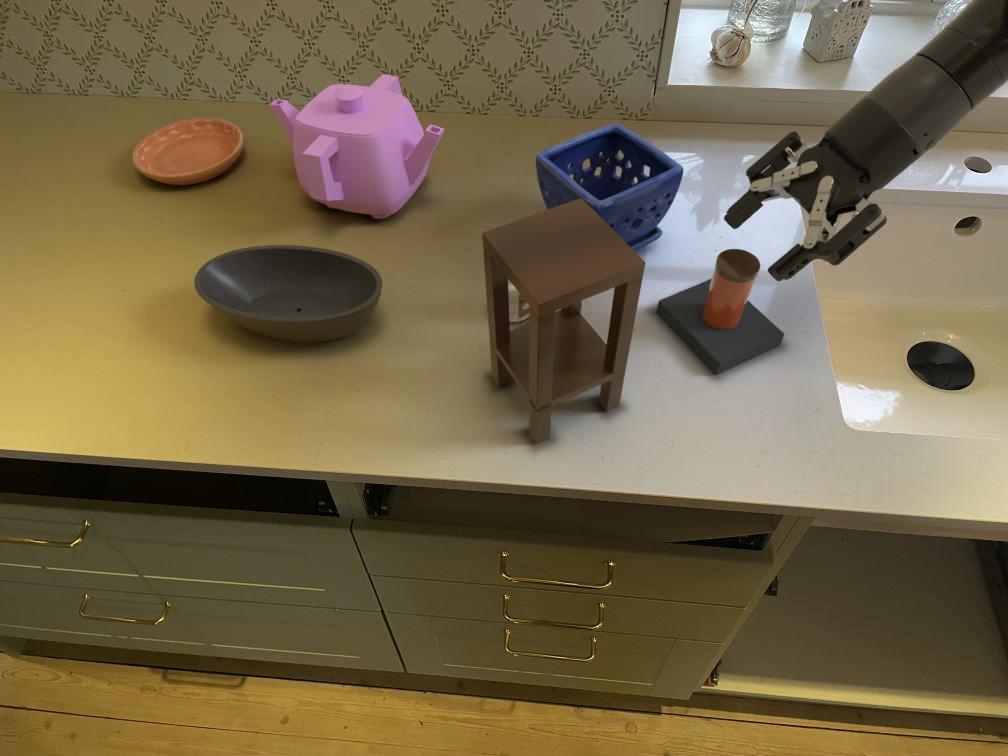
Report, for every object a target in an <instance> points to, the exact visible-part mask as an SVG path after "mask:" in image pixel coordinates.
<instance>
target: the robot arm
mask: <svg viewBox="0 0 1008 756" xmlns="http://www.w3.org/2000/svg"><path fill="white" fill-rule="evenodd" d="M1007 82H1008V0H970V2H969V3H968V4H966V6H965V7H964V8H963V9H962V10H961V11H960V12H959V14H957V16H955V17H954V18H953V19H952V20H951V21H950V22H949V23H948V24H947V25H945V27H944V28H943V29H941V31H939V32H937V34H936V35H934V37H932V39H930V40H929V41H928V42H927V43H926V44H925V45H924V46H922V47H921V48H920V49H919V50H918V51H917V52H916V53H915V54H914V55H913V56H911V57H909V59H908V60H906V61H905V62H903V64H901V65H900V66H898V67H896V68H895V69H894V70H893V71H891V72H890V73H888V74H887V76H885V77H884V78H883V79H882V80H881V81H879V83H878V84H876V85H875V86H874V87H873V88H872V89H871V90H869V92H867V93H866V94H865V95H864V96H863V97H862V98H861V99H860V100H859V101H857V103H855V104H854V105H853V106H852V107H851V108H850V109H848V110H847V112H845V114H843V115H842V116H841V117H840V118H839V119H838V120H837V121H836V122H835V123H833V124H832V125H831V126H829V128H828V129H827V130H826V131H825V132H824V135H823V137H822V139H821V140H820V141H819V142H818V143H816V144H815V145H813V146H811V147H808V145H807V143H806V142H805V141H804V139H803V138H802V137H801V135H800V134H799V133H798V132H797V131H791V132H789V133H788V134H787V135H786V136H784V137H783V138H782V139H781V140H779V141H778V142H777V143H776V144H775V145H773V147H772V148H771V149H769V150H768V151H767V152H765V153H764V154H763V155H762V156H760V158H758V159H757V160H756V161H755V162H754V163H753V164H752V165H750V166H749V167H748V168H747V169H746V171H745V175H746V177H747V178H748V181H749V188H748V190H747V191H746V192H745V193H744V194H742V196H741V197H739V198H738V199H737V201H735V202H734V203H733V204H732V205H731V206H730V207H729V208H728V209H727V210H726V214H725V215H724V217H723V221H725V222H726V223H727V225H728V226H729V227H730V228H732V229H733V230H737V229H738V228H740V227H741V226H742V225H743V224H745V223H746V222H747V221H748V220H749V219H750V218H751V217H752V216H753V215H755V214H756V213H757V212H758V211H759V210H760V209H761V208H762V207H763V206H764V204H763V203H765V202H769V201H773V200H778V199H784V200H788V199H793V200H794V201H795V202H796V203H797V204H798V205H799V206H800V207H802V208H803V209H804V210H805V212H806V213H807V214H808V215H809V217H808V221H807V223H808V228H807V230H806V233H805V236H804V239H803V242H802V244H800V243H799V242H798V243H796V244H795V245H794V246H793V247H791V248H790V249H789V250H788V251H786V253H784V254H783V255H782V256H781V257H779V258H778V259H777V260H776V261H775V262H773V263H772V264H770V266H769V267H768V268H767V272H768V274H769V275H770V276H771V277H772V278H773V279H775V280H776V282H781V281H787V280H789V279H792V278H793V277H794V276H796V274H798V273H799V272H800V271H802V270H803V269H804V268H806V266H808V265H809V264H810V263H812V262H813V261H815V260H822V261H824V262H826V263H829V264H830V265H831V266H832V267H833V266H834V267H836V266H839V265H841V263H843V262H844V261H845V260H846V259H847V258H848V257H850V256H851V255H852V254H853V253H854V252H855V251H857V249H859V248H860V247H861V246H862V245H863V244H864V243H865V242H867V241H868V240H869V239H870V238H871V237H872V236H873V235H875V234H876V233H877V232H878V231H880V229H882V228H883V227H884V226H885V225H886V224H887V222H888V218H887V215H886V214H885V212H884V211H883V209H882V208H881V207H880V206H879V205H878V204H877V203H873V202H872V203H871V202H870V201H869V198H870V196H871V195H872V194H873V193H874V192H876V191H879V190H881V189H882V190H883V188H885V187H886V186H887V185H888V184H890V183H891V182H892V181H893V180H894V179H896V178H897V177H898V176H899V175H900V174H902V173H903V172H904V171H906V169H908V168H909V167H910V166H911V165H912V164H914V163H915V162H916V161H917V160H919V159H920V158H921V157H922V156H923V155H924V154H926V153H927V152H928V151H929V150H931V149H932V148H934V147H935V146H936V145H937V144H938V143H939V142H941V141H942V140H943V139H944V138H945V137H946V136H947V135H949V134H950V133H951V132H952V131H953V130H954V129H955V128H956V127H957V126H958V125H959V123H960V122H962V121H963V119H964V118H966V117H967V116H968V115H969V114H970V113H971V112H972V111H973V110H975V109H976V108H977V107H978V106H980V104H982V103H983V102H984V101H986V100H987V99H988V98H989V97H990V96H991V95H993V94H994V93H995V92H996V91H998V90H999V89H1000V88H1001V87H1003V86H1004V85H1005V84H1006V83H1007ZM792 163H796V165H795V167H790V168H787V167H789V166H790V165H791V164H792ZM762 202H763V203H762ZM849 213H852V215H851V220H849V221H848V222H847V223H846V224H845V225H844V226H842V227H841V229H839V230H838V231H837V228H838V226H839V223H840V220H841V216H842V215H845V214H849ZM836 231H837V232H836Z"/></svg>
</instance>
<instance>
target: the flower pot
mask: <svg viewBox="0 0 1008 756" xmlns="http://www.w3.org/2000/svg"><path fill="white" fill-rule="evenodd" d="M619 152H621V153H622V155H623V157H622V158H621V157H620V156H619ZM600 154H601V155H600ZM587 160H588V161H589V166H588V167H586V168H584V162H585V161H587ZM629 163H630V164H629ZM618 167H619V168H620V169H621V174H620V176H619V175H617V168H618ZM645 167H648V168H649V172H648V173H649V174H648V175H646V173H645ZM535 168H536V176H537V182H538V186H539V190H540V194H541V197H542V200H543V202H544V204H545V207H546V210H548V209H551V208H554V207H557V206H560V205H563V204H566V203H568V202H571V201H574V200H577V199H580V198H582V199H583V200H584V201H585V202H586V203H587V204H588V205H589V206H590V207H591V208H592V209H593V210H594V211H595V212H596V213H597V214H598V215H599V216H600V217H601V218H602V219H603V220H604V221H605V222H606V223H607V224H608V225H609V226H610V227H611V228H612V229H613V230H614V231H615V232H616V233H617V234H618V235H619V236H620V237H621V238H622V239H623V240H624V241H625V242H626V243H627V244H628V245H629V246H630V247H631V248H632V249H633V250H634V251H635V252H636V251H637V250H640V249H642V248H644V247H646V246H648V245H650V244H652V243H654V242H655V241H657V240H658V239H660V237H662V235H663V230H662V229H661V228H660V227H658V225H659V224H660V223H661V222H662V221H663V219H664V218H665V217H666V215H667V213H668V212H669V210H670V208H671V206H672V205H673V203H674V201H675V200H676V196H677V194H678V192H679V189H680V186H681V183H682V181H683V176H684V167H683V166H682V164H680V163H679V162H677V160H675V159H673V158H672V157H670V156H669V155H668V154H666V153H665V152H664V151H663V150H661V149H659V148H658V147H657V146H655V145H653V144H652V143H651V142H649V141H648V140H646V139H644V138H643V137H641V136H639V135H638V134H637V133H635V132H633V131H632V130H630V129H629V128H627V127H625V126H623V125H621V124H619V123H615V122H614V123H610V124H608V125H604V126H602V127H598V128H597V129H593V130H591V131H588V132H586V133H582V134H580V135H578V136H576V137H573V138H571V139H569V140H566V141H564V142H561V143H558V144H556V145H554V146H551V147H548V148H546V149H544V150H542V151H540V152H539V153H537V154H536V156H535ZM598 168H600V173H599V174H595V173H596V171H597V169H598ZM571 175H572V177H570V176H571ZM635 178H636V180H637V181H635Z"/></svg>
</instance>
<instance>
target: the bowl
mask: <svg viewBox="0 0 1008 756" xmlns="http://www.w3.org/2000/svg"><path fill="white" fill-rule="evenodd" d="M193 286H194V289H195V291H196V293H197V295H199V296H200V298H201V299H203V300H204V301H205V302H206V303H207V304H208V305H209V306H210V307H211V308H213V309H214V310H215V311H217V313H220V314H221V316H223V317H225V318H227V319H228V320H229V321H232V322H234V323H236V324H237V325H239V326H241V327H242V328H245V329H248V330H249V331H251V332H255V333H258V334H261V335H263V336H267V337H270V338H272V339H276V340H281V341H285V342H294V343H322V342H330V341H335V340H339V339H342V338H345V337H348V336H350V335H351V334H353V333H354V332H356V331H357V330H359V329H360V328H361V327H362V326H364V325H365V324H366V323H367V322H368V320H369V319H370V318H371V316H372V315H373V313H374V312H375V310H376V308H377V307H378V304H379V301H380V298H381V294H382V290H383V279H382V276H381V274H380V273H379V271H378V270H377V269H376V268H375V267H374V266H372V265H371V264H369V263H368V262H367V261H365V260H362V259H361V258H359V257H356V256H353V255H352V254H347V253H344V252H340V251H337V250H333V249H327V248H321V247H315V246H308V245H296V244H295V245H294V244H269V245H268V244H267V245H257V246H248V247H242V248H238V249H234V250H230V251H227V252H224V253H221V254H219V255H217V256H215V257H213V258H210V259H209V260H207V262H205V263H204V264H203V265H202V266H201V267H200V268H199V269H198V271H197V272H196V274H195V276H194V281H193Z"/></svg>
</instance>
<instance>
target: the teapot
mask: <svg viewBox="0 0 1008 756" xmlns="http://www.w3.org/2000/svg"><path fill="white" fill-rule="evenodd" d="M402 92H403V91H402V88H401V84H400V80H399V77H398V76H396V75H391V74H387V73H386V74H385V73H382V74H381V75H380V76H379V77H378V78H376V80H375V81H374V82H373V83H372V84H371V85H369V86H365V85H358V84H348V83H347V84H346V83H338V84H337V83H336V84H331V85H330V84H329V86H327V87H326V88H324V89H323V90H321V92H319V93H318V94H317V95H316V96H315V97H314V98H313V99H311V100H310V101H309V102H308V103H307V104H306V105H305V106H304V107H303V108H302V109H301V110H300V111H299V110H298V108H296V107H295V106H293V105H292V104H291V103H289V101H288V99H279V98H278V99H277V98H276V99H274V100H273V101H272V102H271V103H269V104H268V105H269V108H270V110H271V111H272V112H273V114H274V115H275V117H276V119H277V120H278V121H279V123H280V124H281V126H282V128H283V129H284V131H285V132H286V133H287V135H288V137H289V138H290V140H291V142H292V145H293V147H292V149H293V160H294V166H295V171H296V177H297V179H298V182H299V184H300V187H302V189H303V191H304V192H305V193H306V194H307V195H308V196H309V197H310V198H312V199H313V200H314V201H316V202H318V203H321V204H323V205H325V206H326V207H327V208H329V209H338V210H341V211H345V212H350V213H357V214H364V215H370V216H371V217H372V219H377V220H382V219H387V218H388V217H390V216H391V215H393V214H395V213H397V212H398V211H400V210H401V209H402V207H403V206H404V205H405V204H407V202H408V201H409V200H410V199H411V198H412V196H413V195H414V194H415V192H416V191H417V190H418V188H419V187H420V185H421V184H422V183H423V181H424V179H425V178H426V175H427V172H428V169H429V165H430V161H431V158H432V156H433V154H434V152H435V150H436V148H437V146H438V144H439V142H440V140H441V138H442V137H443V134H444V132H445V128H444V127H440V126H437V125H435V124H431V123H430V124H429V125H428V127H426V129H425V131H424V129H423V126H422V124H421V121H420V120H419V118H418V116H417V113H416V112H415V111H416V110H414V107H413V105H412V104H411V102H410V100H409V98H408V97H406V96H405V95H403V93H402Z"/></svg>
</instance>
